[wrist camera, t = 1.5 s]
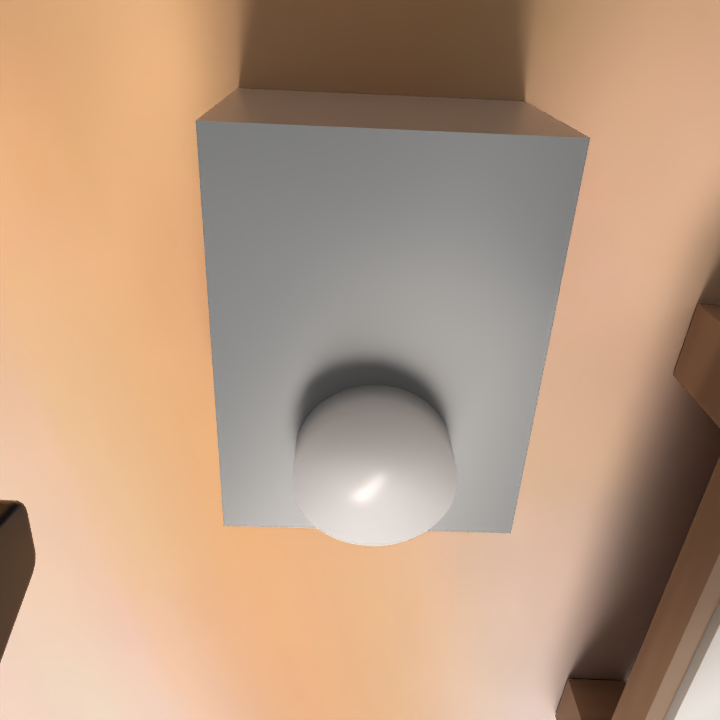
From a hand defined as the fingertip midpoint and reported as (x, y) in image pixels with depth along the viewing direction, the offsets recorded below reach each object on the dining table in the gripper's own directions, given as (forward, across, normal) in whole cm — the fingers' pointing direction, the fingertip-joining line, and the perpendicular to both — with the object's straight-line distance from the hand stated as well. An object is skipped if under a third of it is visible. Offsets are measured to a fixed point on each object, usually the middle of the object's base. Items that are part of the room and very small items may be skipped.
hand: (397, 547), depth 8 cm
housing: (+9, 0, 0) cm, 9 cm away
